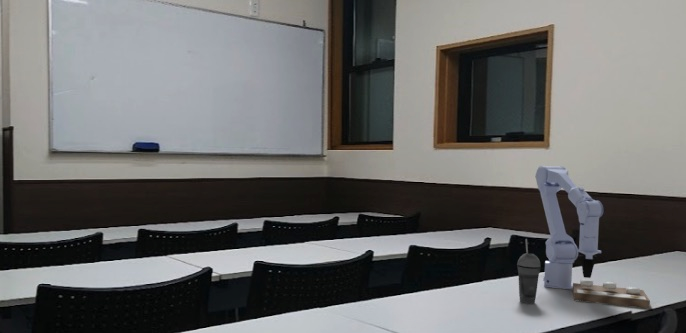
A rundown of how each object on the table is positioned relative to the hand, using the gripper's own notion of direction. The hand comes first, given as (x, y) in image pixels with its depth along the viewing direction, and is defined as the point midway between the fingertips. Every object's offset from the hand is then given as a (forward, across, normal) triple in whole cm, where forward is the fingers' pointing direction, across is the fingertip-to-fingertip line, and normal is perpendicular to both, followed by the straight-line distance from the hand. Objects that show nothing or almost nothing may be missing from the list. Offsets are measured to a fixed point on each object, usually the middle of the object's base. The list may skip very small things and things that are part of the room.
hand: (586, 277), depth 199 cm
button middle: (+3, 0, -7) cm, 8 cm away
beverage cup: (+7, -18, +18) cm, 26 cm away
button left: (+3, 0, 0) cm, 3 cm away
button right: (+4, 0, -14) cm, 14 cm away
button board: (+6, 0, -7) cm, 9 cm away
